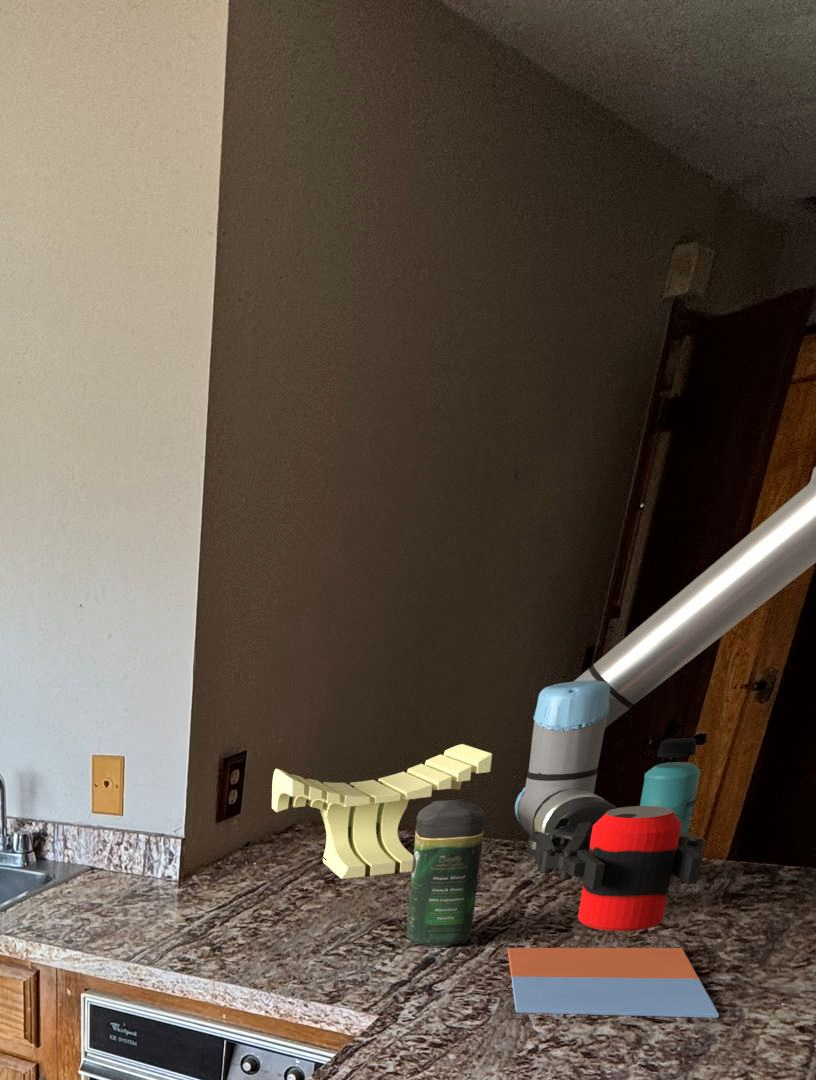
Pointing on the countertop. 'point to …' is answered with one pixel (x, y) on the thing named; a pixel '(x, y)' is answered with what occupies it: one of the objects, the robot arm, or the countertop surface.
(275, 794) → the slatted curved stool
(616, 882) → the soda can
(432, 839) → the coffee jar
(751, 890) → the countertop surface
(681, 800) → the teal pump bottle
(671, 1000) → the sorting mat
